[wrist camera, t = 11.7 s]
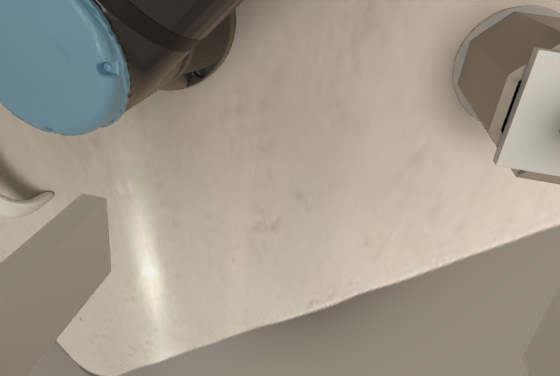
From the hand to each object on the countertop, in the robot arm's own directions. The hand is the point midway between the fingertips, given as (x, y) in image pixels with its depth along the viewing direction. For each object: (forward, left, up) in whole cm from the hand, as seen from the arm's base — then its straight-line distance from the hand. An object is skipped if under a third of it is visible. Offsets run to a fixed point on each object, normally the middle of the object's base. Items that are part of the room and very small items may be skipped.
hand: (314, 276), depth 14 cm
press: (+17, 0, -39) cm, 42 cm away
